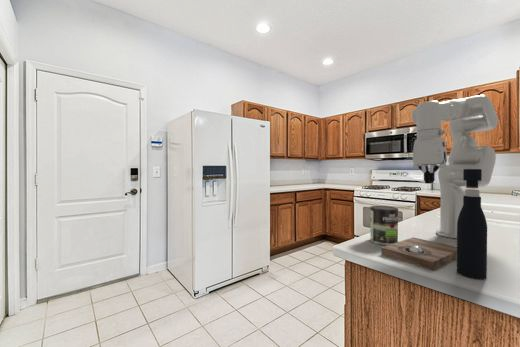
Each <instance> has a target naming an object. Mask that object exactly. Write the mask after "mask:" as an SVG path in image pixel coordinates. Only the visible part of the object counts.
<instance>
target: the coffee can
mask: <svg viewBox="0 0 520 347" xmlns="http://www.w3.org/2000/svg"><path fill="white" fill-rule="evenodd" d="M369 208H370V236H369V237H370V242H372V243H374V244H377V245H382V246H387V245H390V244H394V243H397V242H399V240H398V239H399V238H398V236H399V230H398V229H399V207H395V206H386V205H373V206H370V207H369Z"/></svg>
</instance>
